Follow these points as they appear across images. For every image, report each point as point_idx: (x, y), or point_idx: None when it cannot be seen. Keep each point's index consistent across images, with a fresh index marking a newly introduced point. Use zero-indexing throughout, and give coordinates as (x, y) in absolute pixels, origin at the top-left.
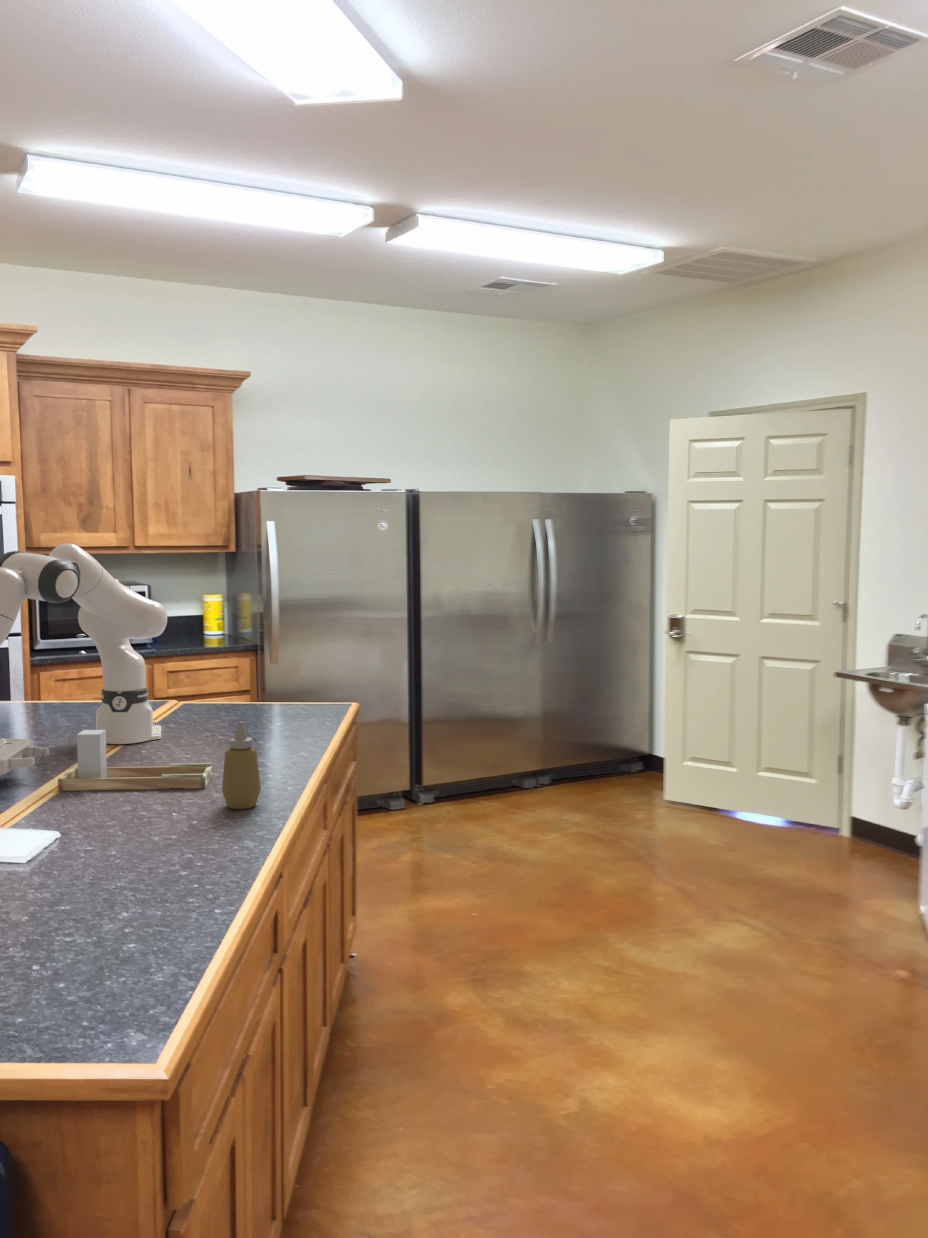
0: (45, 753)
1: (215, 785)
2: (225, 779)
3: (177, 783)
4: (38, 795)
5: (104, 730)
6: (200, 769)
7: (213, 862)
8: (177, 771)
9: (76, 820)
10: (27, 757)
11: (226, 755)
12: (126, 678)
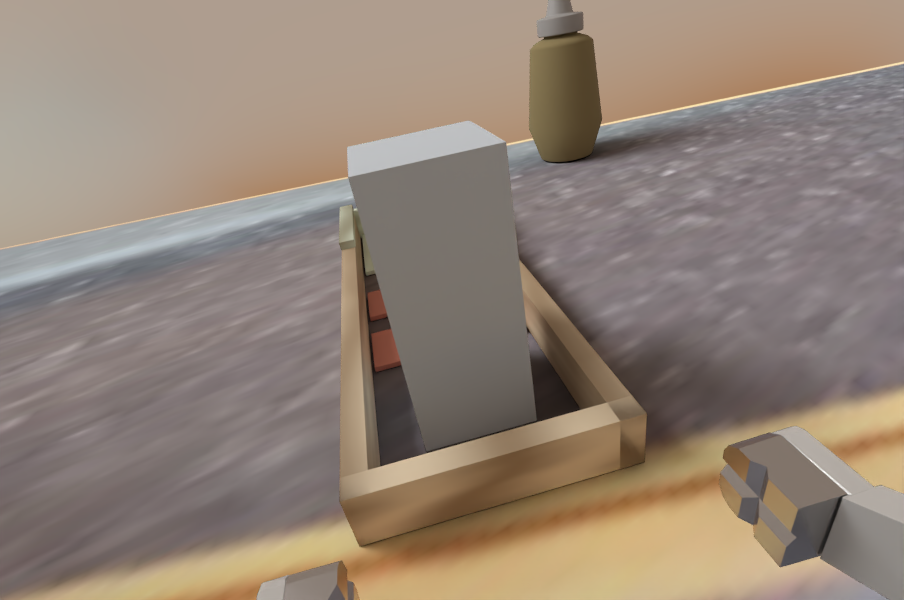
0: (350, 596)
1: None
2: (594, 96)
3: None
4: None
5: (366, 143)
6: (355, 225)
7: (835, 95)
8: (358, 251)
9: (897, 230)
10: (802, 490)
11: (587, 45)
12: None
